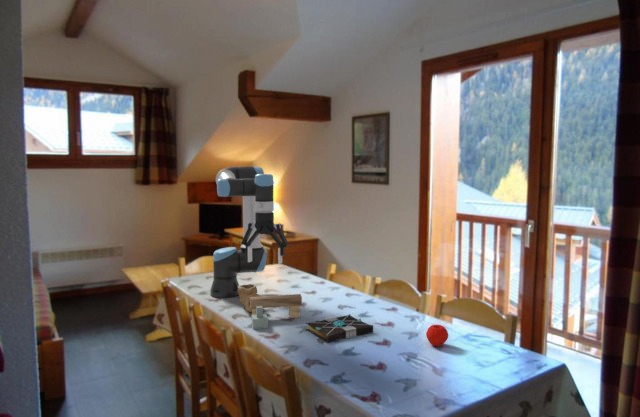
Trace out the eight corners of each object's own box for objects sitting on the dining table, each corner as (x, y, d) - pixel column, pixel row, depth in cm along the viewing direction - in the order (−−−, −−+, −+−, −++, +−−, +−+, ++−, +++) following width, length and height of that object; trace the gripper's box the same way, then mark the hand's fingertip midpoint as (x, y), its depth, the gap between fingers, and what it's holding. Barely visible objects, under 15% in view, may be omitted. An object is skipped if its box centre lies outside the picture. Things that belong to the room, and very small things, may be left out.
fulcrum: (251, 324, 197) (251, 305, 196) (266, 323, 198) (266, 304, 197) (253, 329, 191) (252, 309, 190) (268, 328, 192) (267, 308, 192)
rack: (252, 317, 206) (252, 305, 206) (297, 313, 211) (297, 302, 210) (253, 320, 201) (253, 309, 201) (299, 317, 206) (299, 306, 205)
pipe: (245, 315, 209) (245, 292, 208) (235, 305, 224) (234, 284, 223) (265, 312, 213) (264, 290, 212) (253, 303, 228) (253, 282, 227)
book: (326, 344, 176) (326, 331, 175) (304, 330, 190) (304, 318, 190) (374, 334, 187) (374, 321, 186) (349, 321, 201) (349, 310, 201)
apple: (444, 350, 169) (444, 330, 168) (422, 346, 173) (423, 326, 172) (450, 343, 176) (451, 324, 175) (429, 339, 180) (430, 320, 179)
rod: (249, 306, 205) (249, 297, 205) (300, 302, 210) (300, 294, 210) (250, 308, 201) (250, 299, 201) (301, 305, 206) (301, 296, 206)
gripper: (232, 211, 196) (233, 262, 198) (289, 213, 189) (290, 266, 191) (241, 210, 203) (241, 259, 205) (296, 211, 196) (296, 262, 198)
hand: (265, 262), depth 198 cm, fingers open, 13 cm apart
